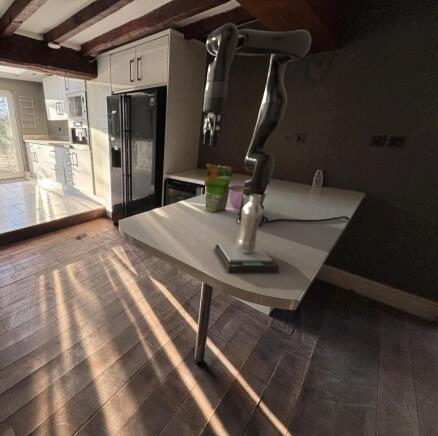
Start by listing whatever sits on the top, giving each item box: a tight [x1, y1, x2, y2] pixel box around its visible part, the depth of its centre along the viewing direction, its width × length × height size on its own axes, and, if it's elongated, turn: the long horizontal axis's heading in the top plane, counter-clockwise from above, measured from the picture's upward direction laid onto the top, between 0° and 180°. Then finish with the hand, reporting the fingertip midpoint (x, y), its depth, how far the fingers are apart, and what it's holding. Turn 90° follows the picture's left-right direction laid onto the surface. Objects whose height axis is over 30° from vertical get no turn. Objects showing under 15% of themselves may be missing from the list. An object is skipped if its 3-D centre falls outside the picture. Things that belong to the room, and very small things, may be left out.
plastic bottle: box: [234, 194, 264, 253], centre depth 76 cm, size 6×7×20 cm
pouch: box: [204, 163, 234, 213], centre depth 123 cm, size 11×12×25 cm
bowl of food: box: [228, 184, 268, 212], centre depth 127 cm, size 20×20×12 cm
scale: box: [214, 243, 280, 274], centre depth 80 cm, size 16×14×3 cm
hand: (209, 145), depth 87 cm, fingers open, 8 cm apart
